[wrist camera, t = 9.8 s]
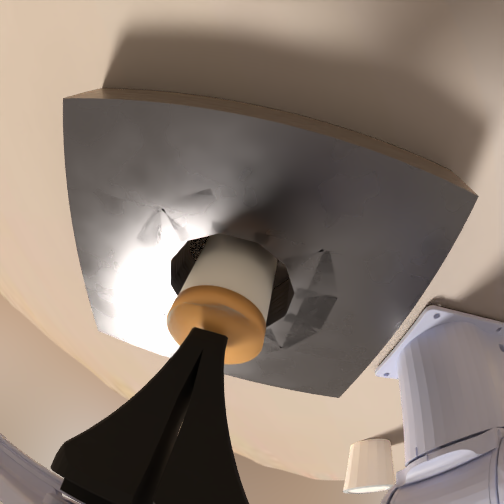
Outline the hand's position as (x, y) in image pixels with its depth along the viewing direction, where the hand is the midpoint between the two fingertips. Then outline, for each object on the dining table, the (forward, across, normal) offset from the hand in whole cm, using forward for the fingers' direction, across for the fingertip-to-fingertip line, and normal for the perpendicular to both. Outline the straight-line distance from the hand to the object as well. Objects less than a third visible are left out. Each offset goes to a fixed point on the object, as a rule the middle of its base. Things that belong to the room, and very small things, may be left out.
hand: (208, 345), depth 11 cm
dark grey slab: (+6, 0, 0) cm, 6 cm away
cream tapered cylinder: (+7, -22, +26) cm, 35 cm away
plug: (+6, 0, 0) cm, 7 cm away
